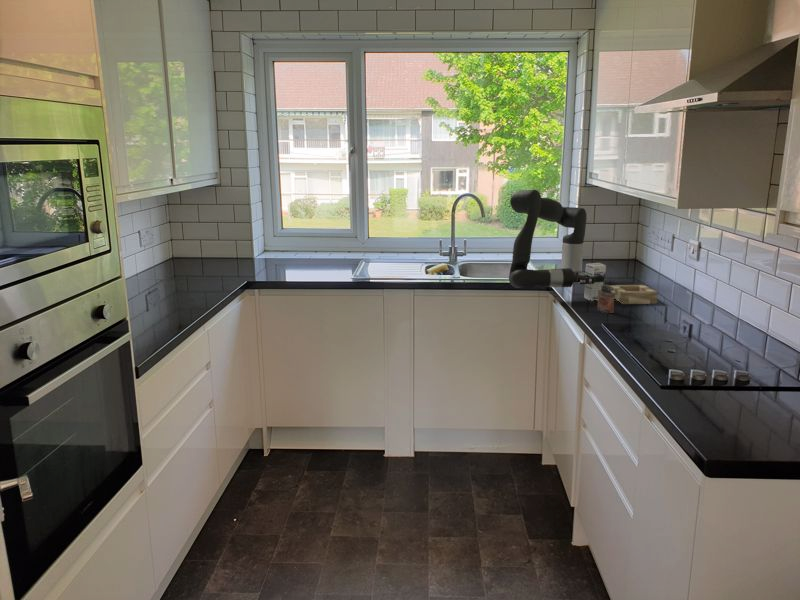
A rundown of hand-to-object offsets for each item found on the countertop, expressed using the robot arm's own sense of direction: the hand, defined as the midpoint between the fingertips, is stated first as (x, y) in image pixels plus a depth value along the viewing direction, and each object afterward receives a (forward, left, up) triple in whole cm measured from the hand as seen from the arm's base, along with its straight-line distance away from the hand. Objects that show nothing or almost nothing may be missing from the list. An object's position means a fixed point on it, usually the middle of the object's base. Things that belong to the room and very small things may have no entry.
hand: (600, 277), depth 252 cm
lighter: (+19, -4, -9) cm, 22 cm away
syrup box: (0, -2, -9) cm, 9 cm away
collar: (+2, +13, -9) cm, 16 cm away
